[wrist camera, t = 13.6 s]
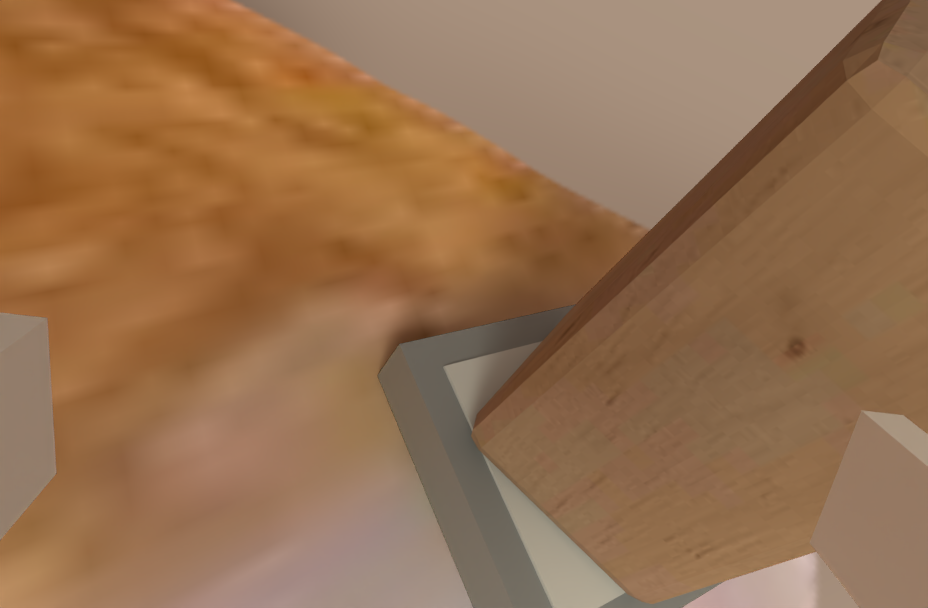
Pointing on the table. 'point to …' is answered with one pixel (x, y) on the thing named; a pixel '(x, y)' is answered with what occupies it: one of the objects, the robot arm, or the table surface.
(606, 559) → the wooden block
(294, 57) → the table surface
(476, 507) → the slate base
